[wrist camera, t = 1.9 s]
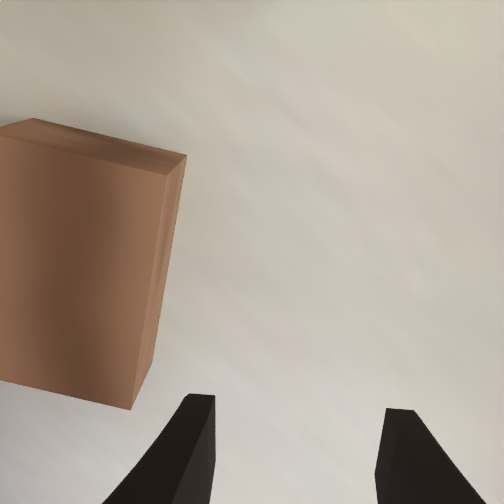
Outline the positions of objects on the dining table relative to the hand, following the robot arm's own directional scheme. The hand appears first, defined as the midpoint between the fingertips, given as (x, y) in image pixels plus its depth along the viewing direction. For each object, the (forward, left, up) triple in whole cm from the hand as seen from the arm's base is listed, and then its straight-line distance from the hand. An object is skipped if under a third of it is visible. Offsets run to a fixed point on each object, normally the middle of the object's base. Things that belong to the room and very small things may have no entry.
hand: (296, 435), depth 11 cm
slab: (-8, 0, -10) cm, 13 cm away
